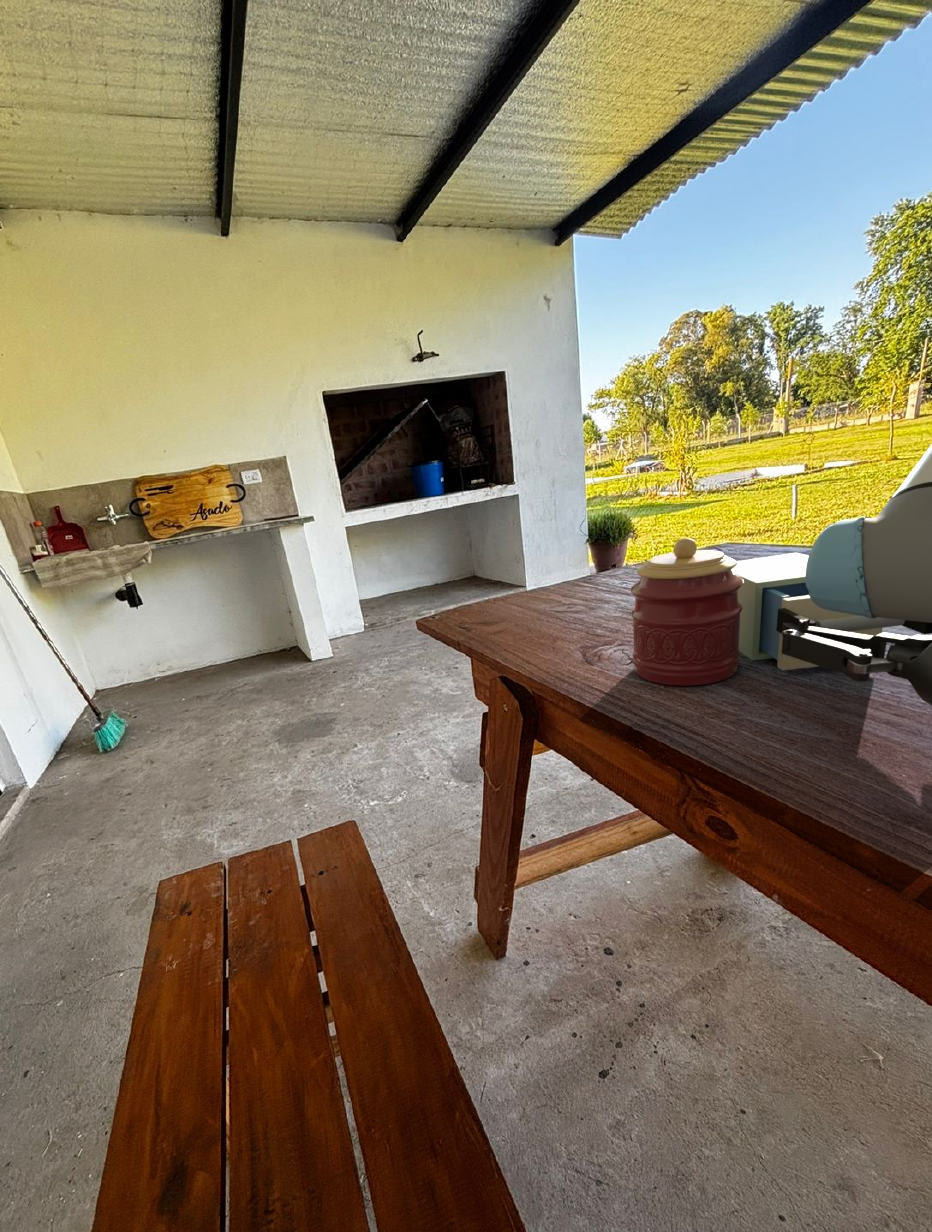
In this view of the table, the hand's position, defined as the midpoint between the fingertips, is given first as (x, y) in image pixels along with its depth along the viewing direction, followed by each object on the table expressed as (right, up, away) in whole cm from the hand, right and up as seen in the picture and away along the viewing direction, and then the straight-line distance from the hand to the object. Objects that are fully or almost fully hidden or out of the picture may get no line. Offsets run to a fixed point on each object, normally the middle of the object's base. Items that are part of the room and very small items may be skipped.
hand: (833, 613), depth 61 cm
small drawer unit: (+3, -2, +15) cm, 15 cm away
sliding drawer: (+2, -5, +6) cm, 8 cm away
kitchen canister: (-12, -6, +11) cm, 17 cm away
